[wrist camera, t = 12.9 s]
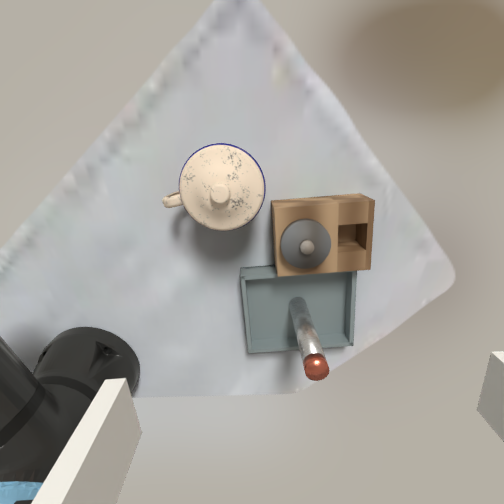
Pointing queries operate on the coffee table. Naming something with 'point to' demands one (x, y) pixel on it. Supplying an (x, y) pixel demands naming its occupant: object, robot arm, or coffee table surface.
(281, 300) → the tray
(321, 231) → the tan wooden block
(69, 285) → the coffee table surface
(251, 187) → the teacup with lid
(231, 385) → the coffee table surface
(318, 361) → the pin
